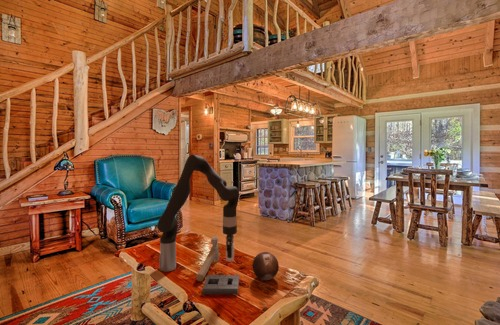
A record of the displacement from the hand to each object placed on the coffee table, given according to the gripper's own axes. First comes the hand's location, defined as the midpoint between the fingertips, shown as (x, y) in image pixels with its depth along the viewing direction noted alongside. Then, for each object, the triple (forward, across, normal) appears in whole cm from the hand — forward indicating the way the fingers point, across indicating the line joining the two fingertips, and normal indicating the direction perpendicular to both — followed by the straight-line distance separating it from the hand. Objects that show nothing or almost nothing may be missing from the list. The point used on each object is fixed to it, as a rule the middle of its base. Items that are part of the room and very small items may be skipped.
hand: (229, 255), depth 135 cm
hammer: (+18, -19, -15) cm, 30 cm away
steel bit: (+2, 0, 0) cm, 2 cm away
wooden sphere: (+17, -9, +20) cm, 28 cm away
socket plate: (+17, 0, -4) cm, 18 cm away
